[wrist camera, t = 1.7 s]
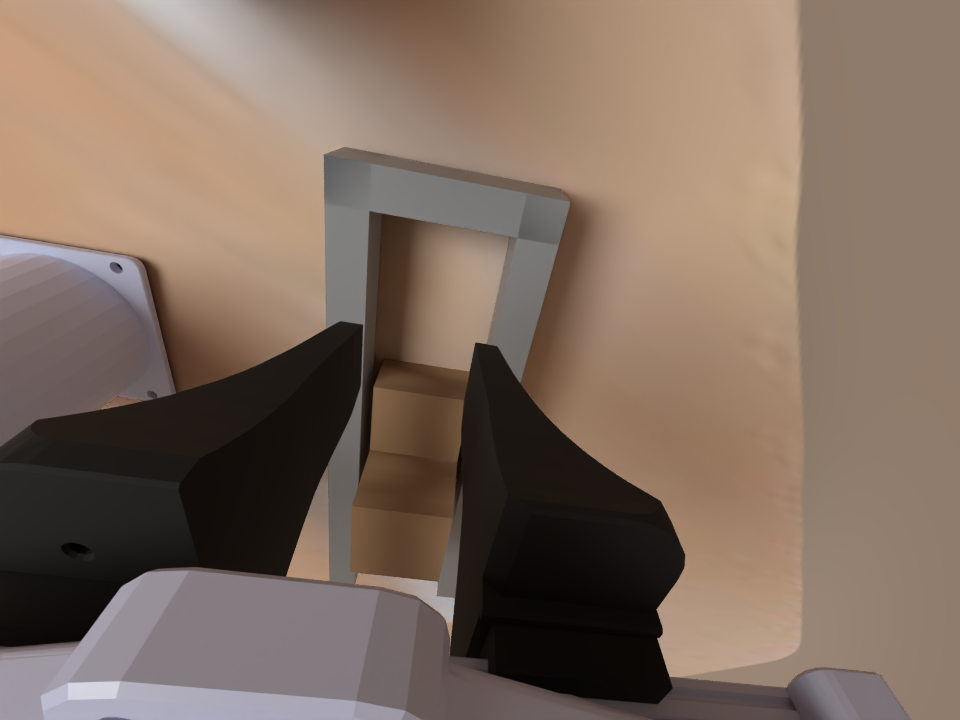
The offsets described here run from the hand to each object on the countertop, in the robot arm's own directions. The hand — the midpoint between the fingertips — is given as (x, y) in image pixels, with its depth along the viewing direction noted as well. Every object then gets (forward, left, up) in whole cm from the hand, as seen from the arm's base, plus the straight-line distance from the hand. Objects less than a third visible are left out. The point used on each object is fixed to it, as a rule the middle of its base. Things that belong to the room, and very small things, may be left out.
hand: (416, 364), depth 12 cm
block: (0, -10, -8) cm, 13 cm away
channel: (0, -10, -8) cm, 13 cm away
